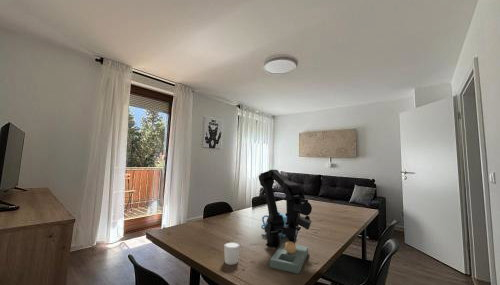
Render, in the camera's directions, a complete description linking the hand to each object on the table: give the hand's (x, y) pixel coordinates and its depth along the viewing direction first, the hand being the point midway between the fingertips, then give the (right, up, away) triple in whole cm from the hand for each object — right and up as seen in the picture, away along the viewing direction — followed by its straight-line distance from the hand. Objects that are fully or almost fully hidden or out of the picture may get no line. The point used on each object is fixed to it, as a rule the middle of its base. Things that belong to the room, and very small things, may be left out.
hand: (293, 244), depth 100 cm
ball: (-2, +1, -4) cm, 5 cm away
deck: (-2, -5, -4) cm, 7 cm away
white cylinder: (-29, -4, -8) cm, 30 cm away
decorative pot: (-4, -9, +30) cm, 32 cm away
